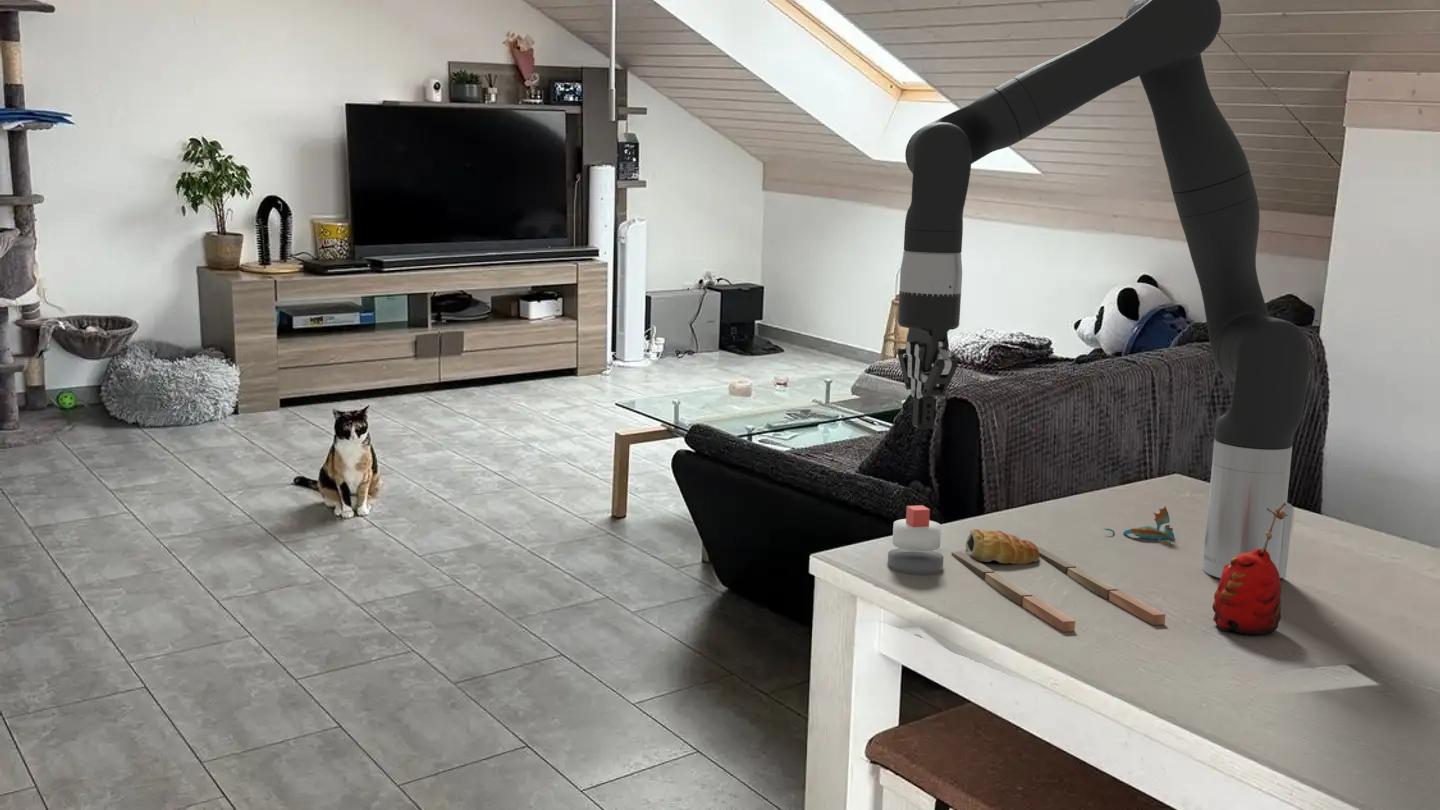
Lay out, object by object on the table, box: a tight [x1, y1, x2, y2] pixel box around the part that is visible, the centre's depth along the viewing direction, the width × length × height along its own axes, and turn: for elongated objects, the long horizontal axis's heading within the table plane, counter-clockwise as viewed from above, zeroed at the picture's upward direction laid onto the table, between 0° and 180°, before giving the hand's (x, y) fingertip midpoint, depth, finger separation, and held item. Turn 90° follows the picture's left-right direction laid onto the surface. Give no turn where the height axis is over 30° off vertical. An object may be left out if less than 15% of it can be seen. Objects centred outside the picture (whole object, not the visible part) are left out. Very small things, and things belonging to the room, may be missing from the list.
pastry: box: [965, 528, 1040, 565], centre depth 170 cm, size 9×7×4 cm
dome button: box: [892, 504, 942, 551], centre depth 165 cm, size 6×6×5 cm
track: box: [951, 546, 1167, 633], centre depth 159 cm, size 13×28×1 cm, turn 16°
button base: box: [887, 547, 944, 576], centre depth 165 cm, size 7×7×2 cm
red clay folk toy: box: [1212, 503, 1288, 636], centre depth 145 cm, size 8×7×15 cm
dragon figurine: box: [1104, 505, 1175, 547], centre depth 181 cm, size 6×7×8 cm
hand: (922, 427), depth 162 cm, fingers closed
